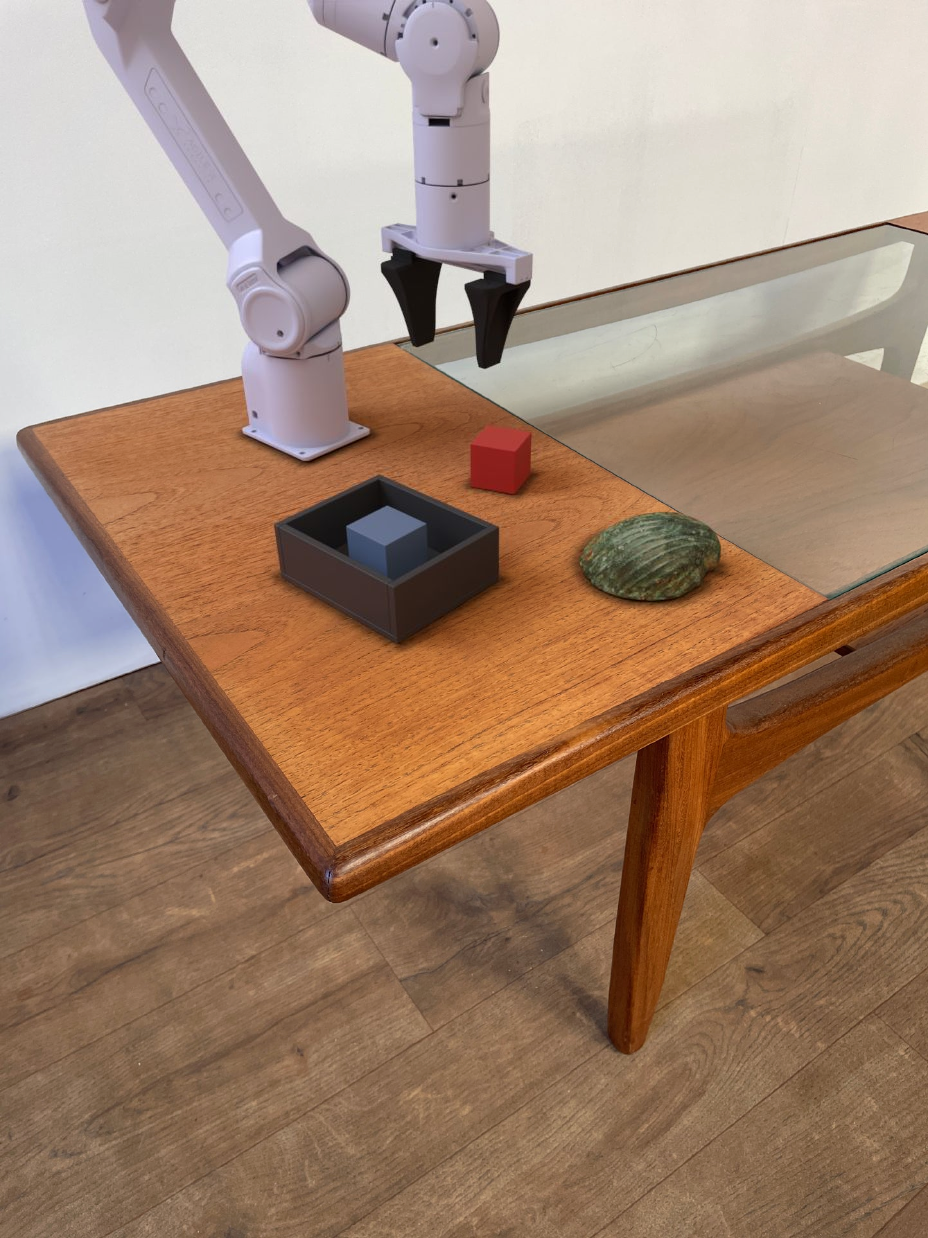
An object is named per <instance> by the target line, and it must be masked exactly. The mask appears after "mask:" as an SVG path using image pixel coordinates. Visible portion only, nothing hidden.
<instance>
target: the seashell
mask: <svg viewBox="0 0 928 1238" xmlns="http://www.w3.org/2000/svg"><path fill="white" fill-rule="evenodd" d="M721 554H722V545H721V542H720V539H719V537H718V534H717V533H716V532H715V530H714V529H712V527H710V525H708V524H706V523H705V522H703V521H701V520H700V519H697V518H695V517H693V516H690V515H687V514H683V513H679V512H674V511H655V512H648V513H642V514H638V515H635V516H631V517H628V518H625V519H623V520H620V521H618V522H616V523H614V524H611V526H608V527H607V528H606V529H604V530H602V531H601V532H599V533H598V534H597V535H595V536H594V537H593V538H591V540H590V541H589V542H588V543H587V545H586V546H585V547H584V549H583V554H582V555H581V556H580V559H581V560H580V562H579V566H581V567H582V572H583V573H584V576H585V577H586V578H587V579H588V580H590V583H591V584H592V586H594V587H595V588H596V589H597V590H602V591H603V592H605V593H607V594H610V595H614V596H616V597H620V598H623V599H628V600H629V599H630V600H637V601H648V602H650V601H651V602H652V601H662V600H671V599H676V598H679V597H681V596H684V595H685V594H687V593H688V592H689V593H690V592H691V591H692V590H693V589H694V588H696V587H697V588H698V587H699V586H700V585H701V584H702V583H703V579H704V578H705V576H706V573H708V572H710V571H715V570H716V569H717V567H718V565H719V563H720V560H721V556H722V555H721Z"/></svg>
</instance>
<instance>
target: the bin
mask: <svg viewBox="0 0 928 1238" xmlns="http://www.w3.org/2000/svg"><path fill="white" fill-rule="evenodd" d="M385 506H389V507H392V508H394V509H396V510H398V511H400V512H402V513H405V514H407V515H409V516H411V517H413V518H415V519H417V520H420V521H422V522H424V523H426V524H427V549H428V562H426V563H424V564H423V565H421V566H419V567H417V568H416V569H414V570H412V571H410V572H409V573H407V574H405V575H403V576H401V577H400V578H398V579H396V580H394V581H393V580H392V579H390V578H388V577H386V576H384V575H382V574H380V573H378V572H376V571H374V570H372V569H371V568H369V567H367V566H365V565H363V564H361V563H359V562H357V561H355V560H353V559H351V558H350V557H349V550H348V540H347V529H346V526H348V525H350V524H352V523H354V522H356V521H358V520H360V519H362V518H364V517H366V516H368V515H369V514H371V513H373V512H375V511H377V510H379V509H381V508H383V507H385ZM273 526H274V527H273V529H274V536H275V543H276V550H277V556H278V562H279V563H278V565H279V570H280V577H281V578H282V579H283V580H285V581H287V582H288V583H291V584H292V585H294V586H296V587H297V588H299V589H301V590H302V591H304V592H306V593H308V594H309V595H311V596H313V597H315V598H317V599H318V600H320V601H322V602H323V603H325V604H327V605H329V606H331V607H332V608H334V609H336V610H337V611H339V612H341V613H343V614H345V615H346V616H348V617H349V618H352V619H353V620H355V621H357V622H359V623H360V624H362V625H363V626H365V627H367V628H369V629H371V630H372V631H374V632H376V633H377V634H379V635H381V636H383V637H384V638H386V639H388V640H390V641H391V642H393V643H395V644H396V645H398V644H400V643H402V642H404V641H405V640H407V639H408V638H410V637H411V636H412V635H414V634H416V633H418V632H419V631H421V630H423V629H424V628H426V627H427V626H429V625H430V624H432V623H434V622H436V621H437V620H438V619H440V618H442V617H443V616H445V615H447V614H448V613H449V612H451V611H453V610H455V609H456V608H458V607H459V606H461V605H462V604H464V603H466V602H467V601H469V600H471V599H472V598H474V597H476V596H477V595H478V594H481V592H483V591H485V590H486V589H488V588H489V587H492V585H494V584H496V583H497V582H499V580H500V579H499V578H500V576H499V575H500V568H499V567H500V526H498V525H495V524H493V523H491V522H489V521H488V520H487V521H486V520H485V519H482V518H481V517H478V516H475V515H473V514H471V513H469V512H466V511H464V510H462V509H460V508H457V507H455V506H453V505H450V504H448V503H447V502H444V501H442V500H439V499H436V498H434V497H432V496H430V495H428V494H425V493H423V492H421V491H418V490H416V489H414V488H412V487H409V486H407V485H406V484H403V483H400V482H398V481H397V480H393V479H391V478H389V477H387V476H384V475H382V474H380V473H379V474H377V475H374V476H372V477H369V478H368V479H366V480H365V481H361V482H360V483H358V484H355V485H353V486H351V487H349V488H347V489H345V490H343V491H340V492H339V493H336V494H334V495H332V496H330V497H328V498H326V499H324V500H322V501H319V502H317V503H315V504H313V505H311V506H309V507H307V508H304V509H302V510H300V511H298V512H296V513H293V514H292V515H290V516H288V517H286V518H283V519H281V520H279V521H277V522H275V523H274V524H273Z"/></svg>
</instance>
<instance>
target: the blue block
mask: <svg viewBox="0 0 928 1238" xmlns="http://www.w3.org/2000/svg"><path fill="white" fill-rule="evenodd" d="M346 529H347V540H348V550H349V557H350V558H351V559H353V560H355V561H357V562H359V563H361V564H363V565H365V566H367V567H369V568H371V569H372V570H374V571H376V572H378V573H380V574H382V575H384V576H386V577H388V578H390V579H392V580H393V581H394V580H396V579H398V578H400V577H401V576H403V575H405V574H407V573H409V572H410V571H412V570H414V569H416V568H417V567H419V566H421V565H423V564H424V563H426V562H428V549H427V524H426V523H424V522H422V521H420V520H417V519H415V518H413V517H411V516H409V515H407V514H405V513H402V512H400V511H398V510H396V509H394V508H392V507H389V506H385V507H383V508H381V509H379V510H377V511H375V512H373V513H371V514H369V515H368V516H366V517H364V518H362V519H360V520H358V521H356V522H354V523H352V524H350V525H348V526H346Z"/></svg>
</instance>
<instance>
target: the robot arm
mask: <svg viewBox="0 0 928 1238" xmlns="http://www.w3.org/2000/svg"><path fill="white" fill-rule="evenodd" d="M306 1H307V5H308V7H309V9H310V12H311V15H312V17H313V18H314V20H315V21H316V23H317V24H318V25H319V26H321V27H324V28H326V29H327V30H330V31H331V32H334V33H335V34H338V35H339V36H342V37H344V38H345V39H348V40H349V41H351V42H353V43H356V44H357V45H358V44H359V45H360V46H362V47H364V48H366V49H368V50H370V51H372V52H374V53H376V54H378V55H380V56H382V57H384V58H386V59H388V60H389V61H391V62H394V63H399V64H400V67H401V69H402V71H403V72H404V74H405V75H406V77H407V78H408V80H409V81H410V83H411V102H412V103H411V104H412V111H411V119H412V120H411V121H412V148H413V166H414V167H413V169H414V170H413V173H414V195H415V197H414V199H415V200H414V201H415V202H414V203H415V221H416V222H415V224H416V225H412V224H405V223H401V222H397V223H392V224H389V225H385V226H381V227H380V234H381V249H382V250H381V251H382V252H384V253H386V254H392V255H390V259H388V260H384V261H382V262H381V263H380V272H381V274H382V276H383V277H384V278H385V280H386V281H387V283H388V285H389V287H390V289H391V290H392V292H393V294H394V296H395V299H396V301H397V303H398V305H399V308H400V311H401V313H402V317H403V319H404V322H405V323H404V324H405V326H406V329H407V332H408V337H409V339H410V342H411V345H412V347H415V348H420V347H423V346H426V345H428V344H431V343H434V342H435V337H436V327H437V295H438V287H439V281H440V276H441V271H442V267H443V264H444V265H447V266H452V267H456V268H461V269H464V270H467V271H468V270H469V271H472V272H476V273H481V274H483V275H482V277H483V278H482V277H481V278H478V279H475V280H471V281H469V282H466V283H464V285H463V286H464V288H463V289H464V291H465V294H466V297H467V299H468V303H469V306H470V311H471V314H472V315H471V316H472V319H473V327H474V336H475V337H474V339H475V358H476V363H477V366H478V368H479V369H483V370H487V369H489V368H492V367H494V366H497V365H499V364H501V362H502V357H503V354H504V349H505V346H506V342H507V338H508V335H509V332H510V328H511V325H512V323H513V320H514V318H515V315H516V313H517V311H518V308H519V307H520V305H521V303H522V301H523V299H524V297H525V296H526V294H527V292H528V291H529V289H530V288H531V285H532V280H533V263H534V262H533V259H534V253H533V252H529V251H526V250H523V249H519V248H517V247H515V246H512V245H510V244H508V243H506V242H503V241H501V240H499V239H497V238H495V231H493V230H491V109H490V72H489V71H486V70H488V68H489V67H490V66H491V65H492V63H493V62H494V60H495V58H496V56H497V53H498V51H499V50H498V49H499V46H500V39H501V38H500V35H501V31H500V24H499V21H498V17H497V14H496V12H495V10H494V9H493V7H492V5H491V3H490V2H488V0H306ZM81 2H82V5H83V9H84V13H85V15H86V19H87V22H88V25H89V29H90V32H91V35H92V38H93V40H94V42H95V44H96V46H97V48H98V49H99V51H100V53H101V54H102V56H103V58H104V59H105V61H106V62H107V64H108V65H109V67H110V69H111V70H112V71H113V73H114V75H115V76H116V78H117V79H118V81H119V82H120V84H121V86H122V87H123V89H124V91H125V92H126V93H127V95H128V97H129V98H130V100H131V101H132V103H133V105H134V106H135V107H136V109H137V111H138V112H139V114H140V116H141V117H142V118H143V120H144V122H145V123H146V125H147V127H148V128H149V130H150V131H151V133H152V134H153V136H154V138H155V139H156V140H157V143H158V144H159V145H160V148H161V149H162V150H163V151H164V153H165V155H166V156H167V158H168V159H169V161H170V162H171V164H172V166H173V167H174V169H175V170H176V172H177V173H178V175H179V177H180V178H181V180H182V181H183V183H184V185H185V186H186V188H187V189H188V191H189V192H190V194H191V196H192V197H193V198H194V200H195V202H196V204H197V205H198V207H199V208H200V210H201V211H202V213H203V214H204V216H205V217H206V220H207V221H208V222H209V224H210V225H211V227H212V228H213V230H214V232H215V233H216V235H217V236H218V238H219V239H220V241H221V242H222V244H223V246H224V247H225V249H226V251H227V252H228V261H227V267H226V277H225V285H226V288H227V289H228V290H229V292H230V294H231V296H232V297H233V299H234V301H235V303H236V306H237V309H238V315H239V320H240V323H241V327H242V328H243V330H244V333H245V334H246V336H247V337H248V338H249V340H250V341H248V343H247V344H246V346H245V347H244V350H243V352H242V353H243V354H242V357H241V363H240V369H241V376H242V384H243V390H244V396H245V397H244V398H245V403H246V410H247V416H248V423H249V424H248V425H246V426H244V427H242V429H241V430H242V434H244V435H246V436H248V437H250V438H252V439H255V440H257V441H259V442H261V443H264V444H266V445H268V446H270V447H272V448H274V449H276V450H279V451H281V452H283V453H285V454H287V455H290V456H292V457H294V458H297V459H298V460H301V461H303V462H309V461H312V460H314V459H317V458H318V457H321V456H323V455H325V454H329V453H330V452H333V451H335V450H337V449H340V448H341V447H344V446H346V445H349V444H351V443H353V442H355V441H357V440H360V439H362V438H365V437H366V436H369V435H370V434H371V430H370V428H368V427H366V426H363V425H361V424H358V423H357V422H354V421H351V420H350V418H349V407H348V406H349V405H348V393H347V383H346V382H347V381H346V372H345V371H346V370H345V360H344V349H343V348H344V347H343V335H342V332H341V319H340V318H342V317H343V316H344V314H345V313H346V312H347V310H348V308H349V305H350V302H351V286H350V283H349V280H348V277H347V275H346V273H345V271H344V269H343V268H342V267H341V266H340V264H339V263H338V262H337V261H336V259H333V258H332V257H330V256H329V255H328V254H326V253H325V252H324V250H322V249H321V248H320V246H319V245H318V244H317V243H316V241H315V239H314V238H313V236H312V234H311V233H310V232H309V231H307V230H305V229H304V228H303V227H300V226H299V225H297V224H295V223H293V222H292V221H290V220H288V219H286V218H285V217H284V215H283V214H282V212H281V210H280V209H279V207H278V205H277V204H276V202H275V200H274V198H273V197H272V196H271V194H270V192H269V190H268V189H267V187H266V186H265V184H264V182H263V181H262V179H261V177H260V176H259V174H258V173H257V171H256V169H255V168H254V166H253V164H252V163H251V161H250V159H249V158H248V156H247V155H246V152H245V150H244V149H243V147H242V146H241V145H240V143H239V141H238V138H237V137H236V136H235V134H234V133H233V131H232V130H231V128H230V126H229V125H228V123H227V121H226V120H225V118H224V116H223V115H222V112H220V110H219V108H218V107H217V105H216V103H215V101H214V99H213V98H212V96H211V95H210V93H209V91H208V90H207V88H206V87H205V85H204V83H203V82H202V80H201V78H200V77H199V75H198V73H197V71H196V70H195V69H194V67H193V65H192V63H191V62H190V60H189V58H188V57H187V55H186V53H185V52H184V50H183V48H182V47H181V44H180V43H179V42H178V40H177V39H176V37H175V35H174V34H173V31H172V23H173V17H174V9H175V4H176V2H177V0H81ZM485 71H486V72H485Z"/></svg>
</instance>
